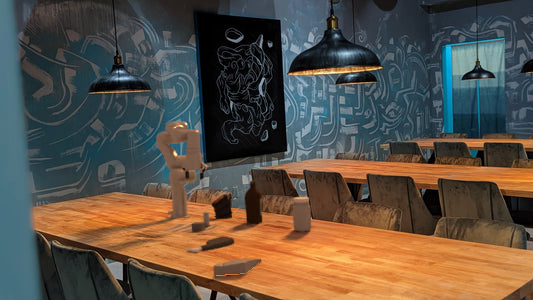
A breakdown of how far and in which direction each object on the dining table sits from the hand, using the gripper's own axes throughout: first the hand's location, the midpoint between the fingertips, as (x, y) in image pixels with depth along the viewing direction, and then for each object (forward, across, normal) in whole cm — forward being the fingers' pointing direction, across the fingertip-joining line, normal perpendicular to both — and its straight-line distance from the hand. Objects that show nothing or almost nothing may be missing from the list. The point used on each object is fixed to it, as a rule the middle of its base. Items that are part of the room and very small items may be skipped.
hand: (194, 178), depth 333 cm
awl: (+25, +13, -12) cm, 31 cm away
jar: (+25, +70, -9) cm, 75 cm away
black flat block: (+28, +10, +16) cm, 34 cm away
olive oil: (+27, +35, +8) cm, 45 cm away
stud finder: (+25, +13, -22) cm, 36 cm away
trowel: (+23, +65, -86) cm, 110 cm away
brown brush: (+25, +36, -52) cm, 68 cm away
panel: (+27, +6, -18) cm, 33 cm away
